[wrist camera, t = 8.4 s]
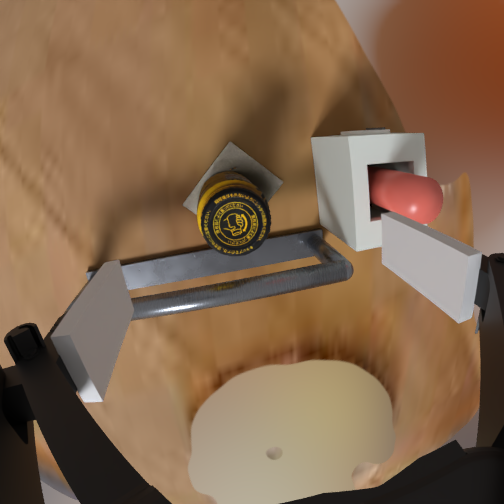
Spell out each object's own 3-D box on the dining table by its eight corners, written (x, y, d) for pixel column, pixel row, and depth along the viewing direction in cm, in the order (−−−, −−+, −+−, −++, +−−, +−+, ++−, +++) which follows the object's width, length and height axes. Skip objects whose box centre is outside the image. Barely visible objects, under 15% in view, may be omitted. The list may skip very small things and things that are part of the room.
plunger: (354, 167, 29) (406, 179, 21) (386, 164, 30) (442, 175, 21) (357, 204, 31) (408, 227, 22) (388, 199, 31) (442, 220, 22)
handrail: (94, 293, 36) (66, 337, 27) (87, 271, 35) (55, 310, 26) (322, 252, 38) (357, 286, 29) (320, 228, 37) (356, 256, 28)
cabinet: (310, 132, 34) (347, 129, 24) (373, 127, 34) (423, 126, 25) (320, 224, 37) (356, 251, 28) (379, 214, 38) (427, 236, 28)
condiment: (182, 204, 34) (171, 234, 23) (229, 141, 33) (241, 138, 22) (236, 242, 37) (250, 287, 25) (282, 182, 35) (319, 200, 24)
